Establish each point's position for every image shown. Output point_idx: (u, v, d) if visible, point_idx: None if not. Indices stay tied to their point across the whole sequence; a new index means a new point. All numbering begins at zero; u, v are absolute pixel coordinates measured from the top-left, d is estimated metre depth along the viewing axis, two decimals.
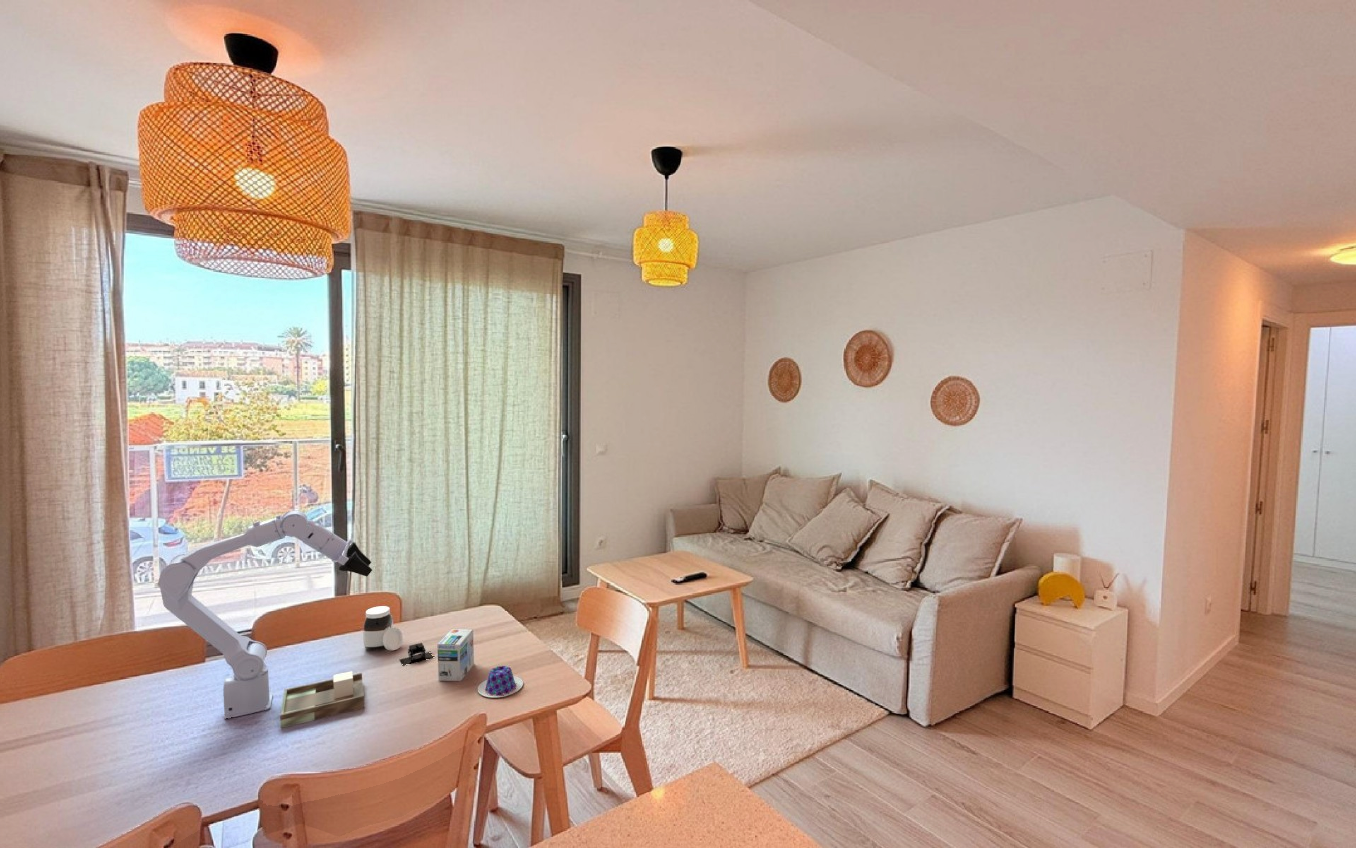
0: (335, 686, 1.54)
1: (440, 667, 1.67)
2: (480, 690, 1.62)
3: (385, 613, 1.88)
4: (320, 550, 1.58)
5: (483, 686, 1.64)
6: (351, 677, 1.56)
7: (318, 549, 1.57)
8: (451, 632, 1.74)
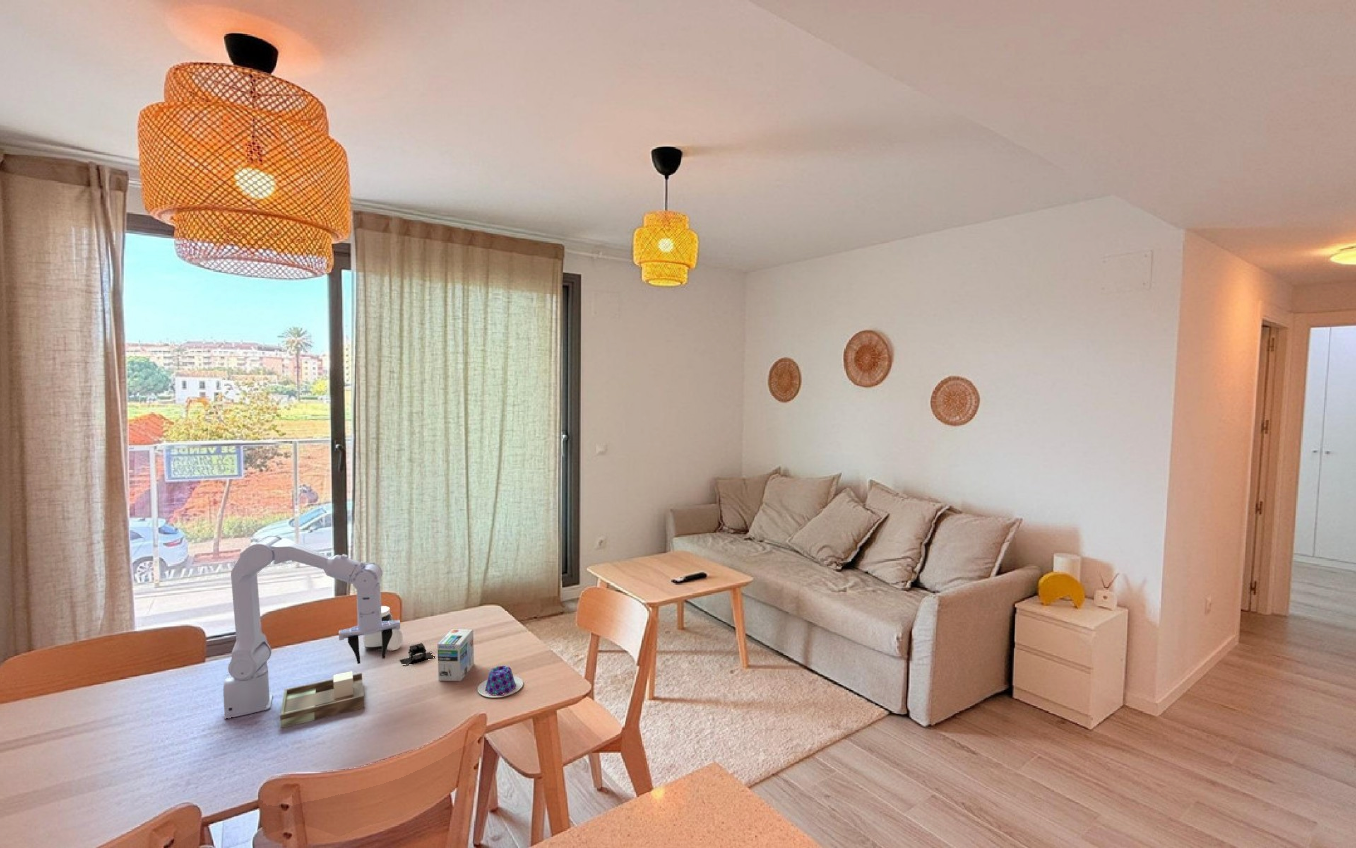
0: (335, 686, 1.54)
1: (440, 667, 1.67)
2: (480, 690, 1.62)
3: (385, 613, 1.88)
4: None
5: (483, 686, 1.64)
6: (351, 677, 1.56)
7: (359, 612, 1.57)
8: (451, 632, 1.74)
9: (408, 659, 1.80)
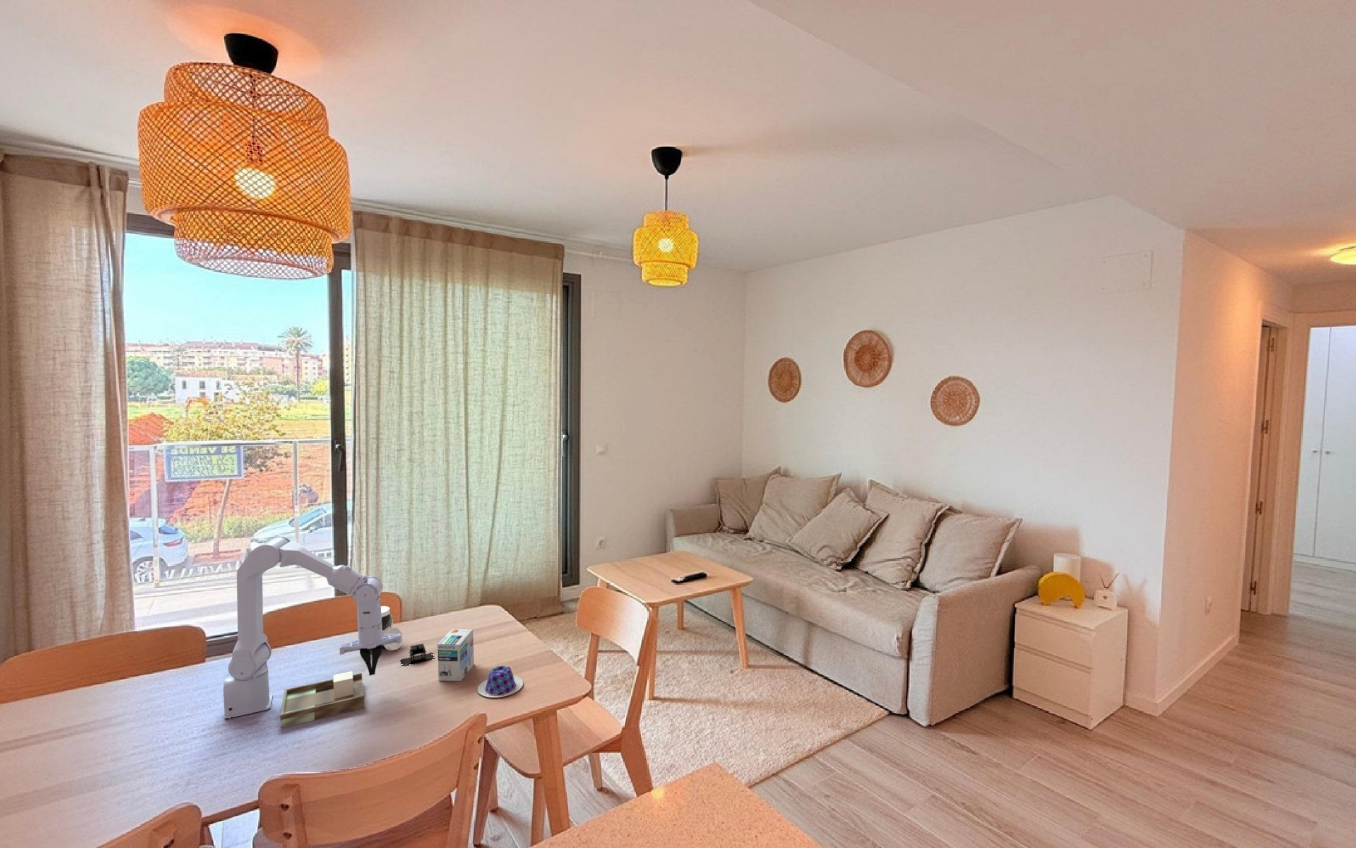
0: (335, 686, 1.54)
1: (440, 667, 1.67)
2: (480, 691, 1.61)
3: (385, 613, 1.88)
4: None
5: (482, 687, 1.64)
6: (351, 677, 1.56)
7: (359, 626, 1.57)
8: (451, 632, 1.74)
9: (408, 659, 1.80)
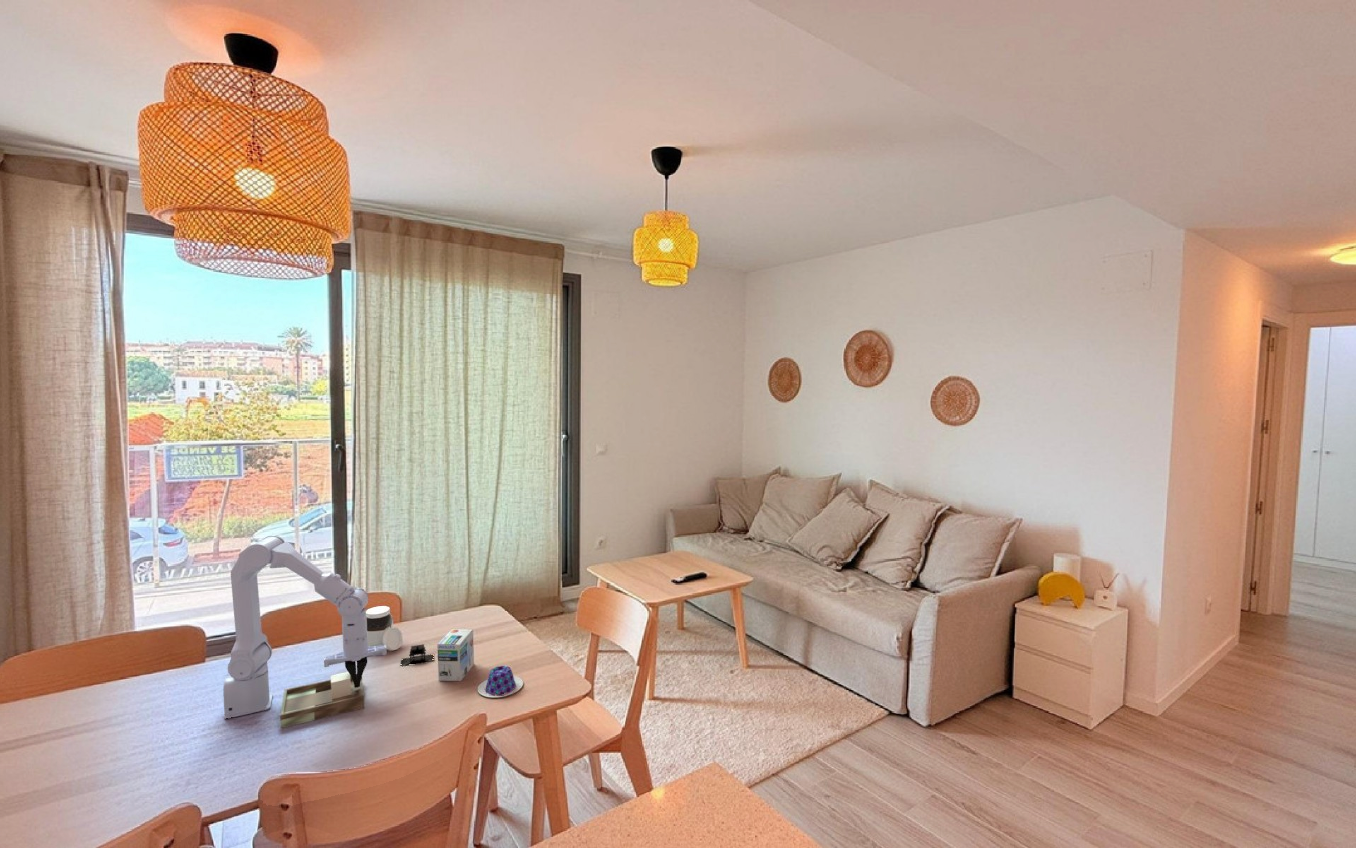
0: (332, 687, 1.54)
1: (440, 667, 1.67)
2: (481, 691, 1.61)
3: (385, 613, 1.88)
4: None
5: (482, 687, 1.63)
6: (348, 677, 1.56)
7: (344, 639, 1.55)
8: (451, 632, 1.74)
9: (409, 659, 1.80)
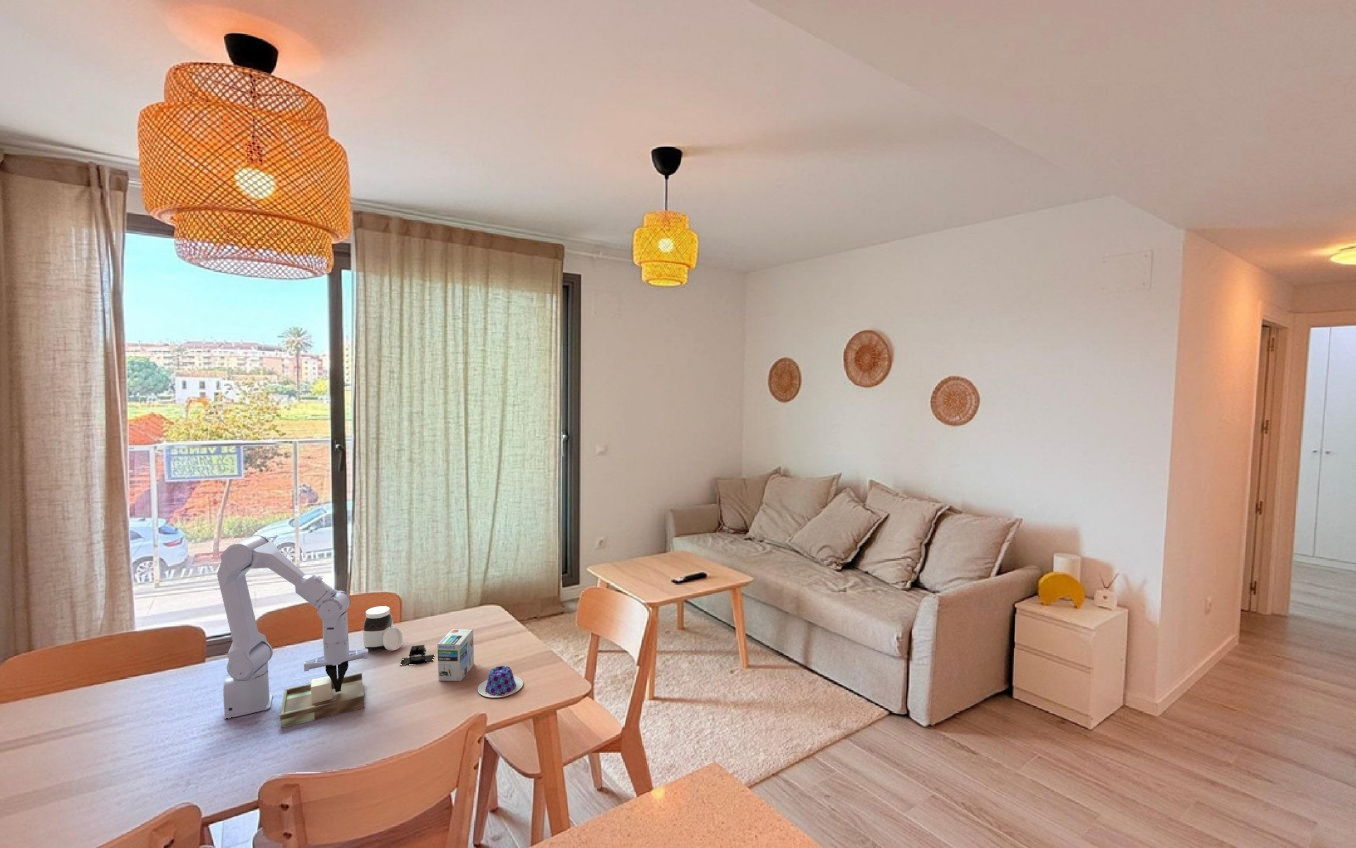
0: (312, 691, 1.52)
1: (440, 667, 1.67)
2: (481, 692, 1.61)
3: (385, 613, 1.88)
4: None
5: (482, 688, 1.63)
6: (329, 682, 1.54)
7: (324, 642, 1.53)
8: (451, 632, 1.74)
9: (409, 659, 1.80)
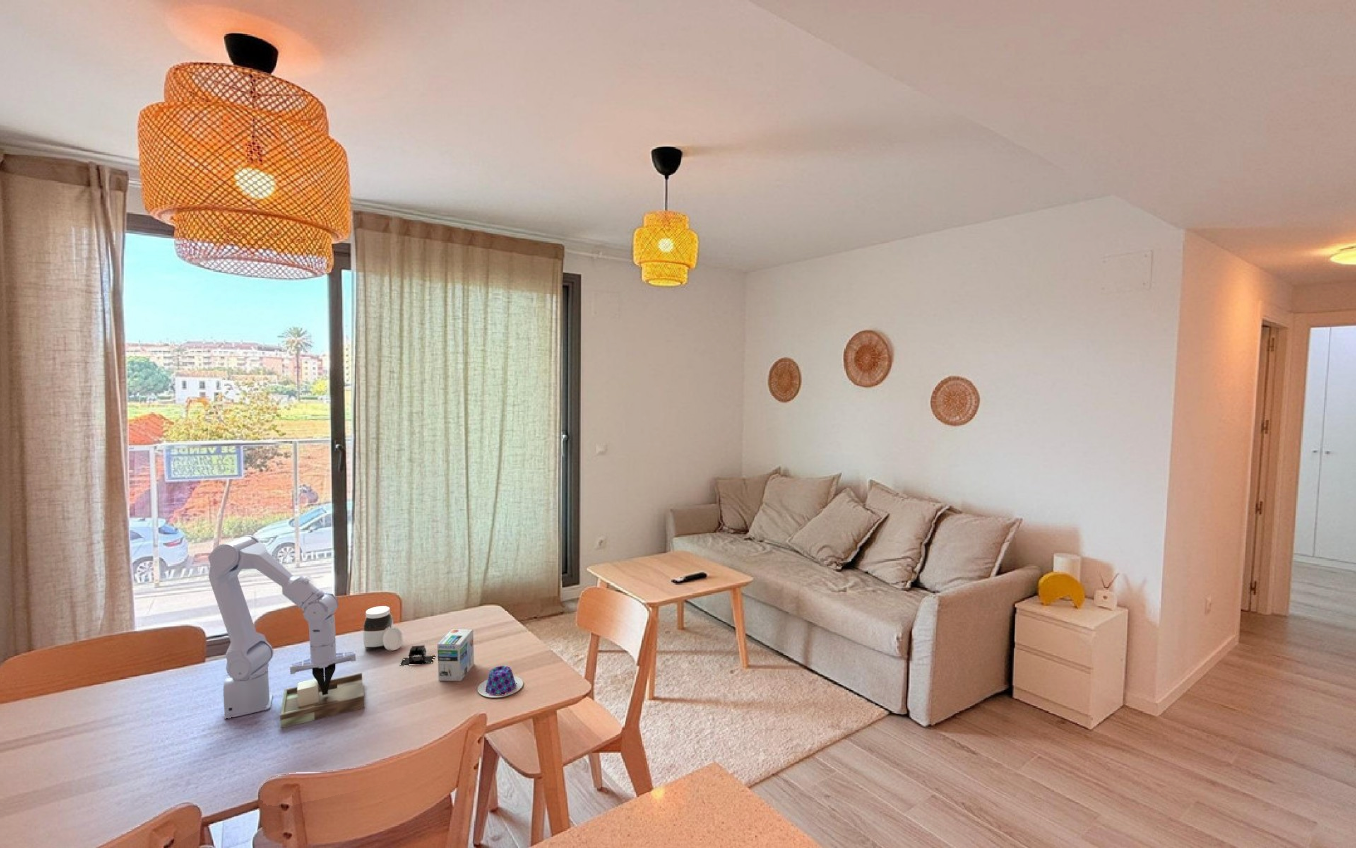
0: (299, 694, 1.50)
1: (440, 667, 1.67)
2: (481, 692, 1.61)
3: (385, 613, 1.88)
4: None
5: (482, 688, 1.63)
6: (316, 685, 1.53)
7: (310, 644, 1.52)
8: (451, 632, 1.74)
9: None
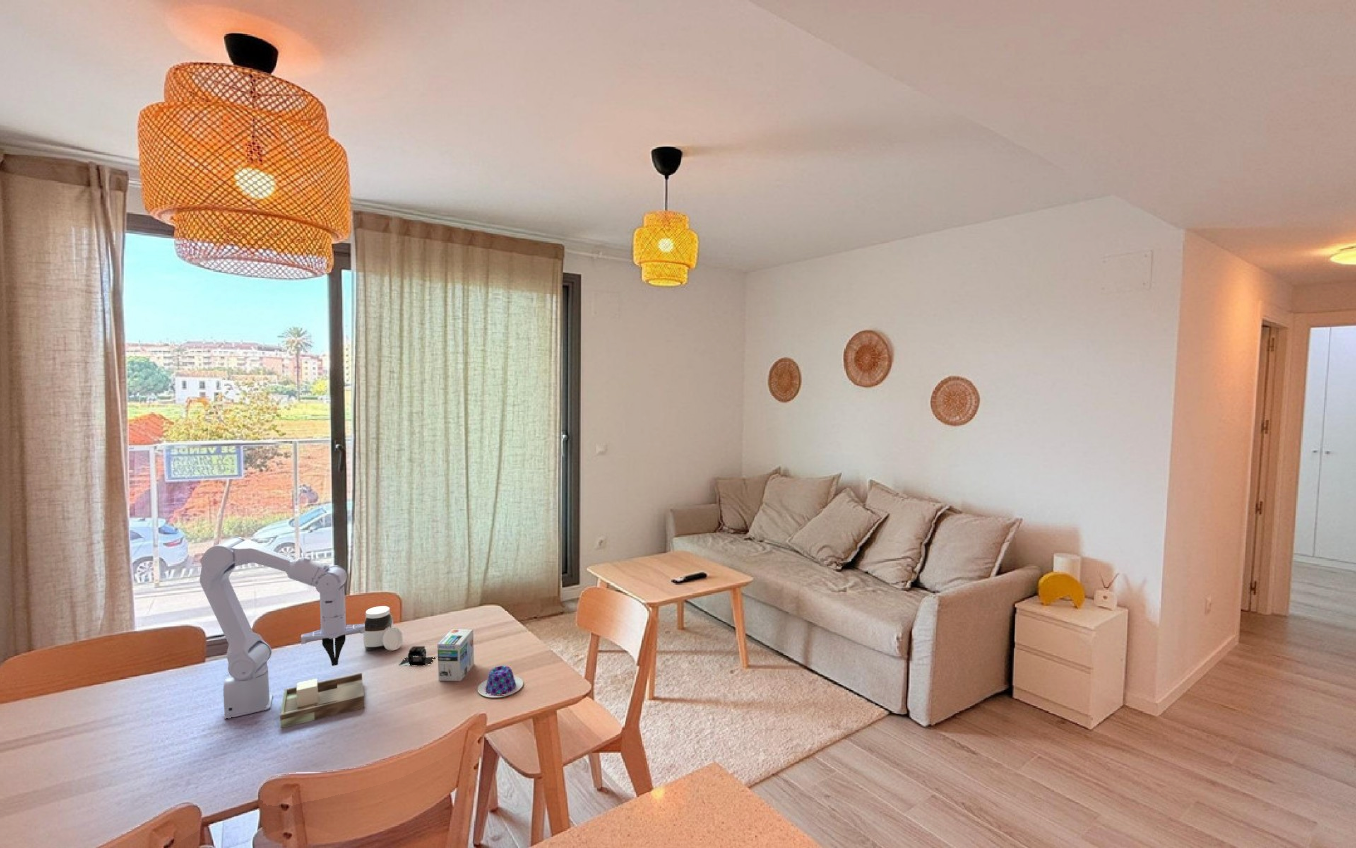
0: (298, 695, 1.50)
1: (440, 667, 1.67)
2: (481, 693, 1.61)
3: (385, 613, 1.88)
4: None
5: (482, 689, 1.63)
6: (315, 685, 1.52)
7: (321, 616, 1.54)
8: (451, 632, 1.74)
9: None
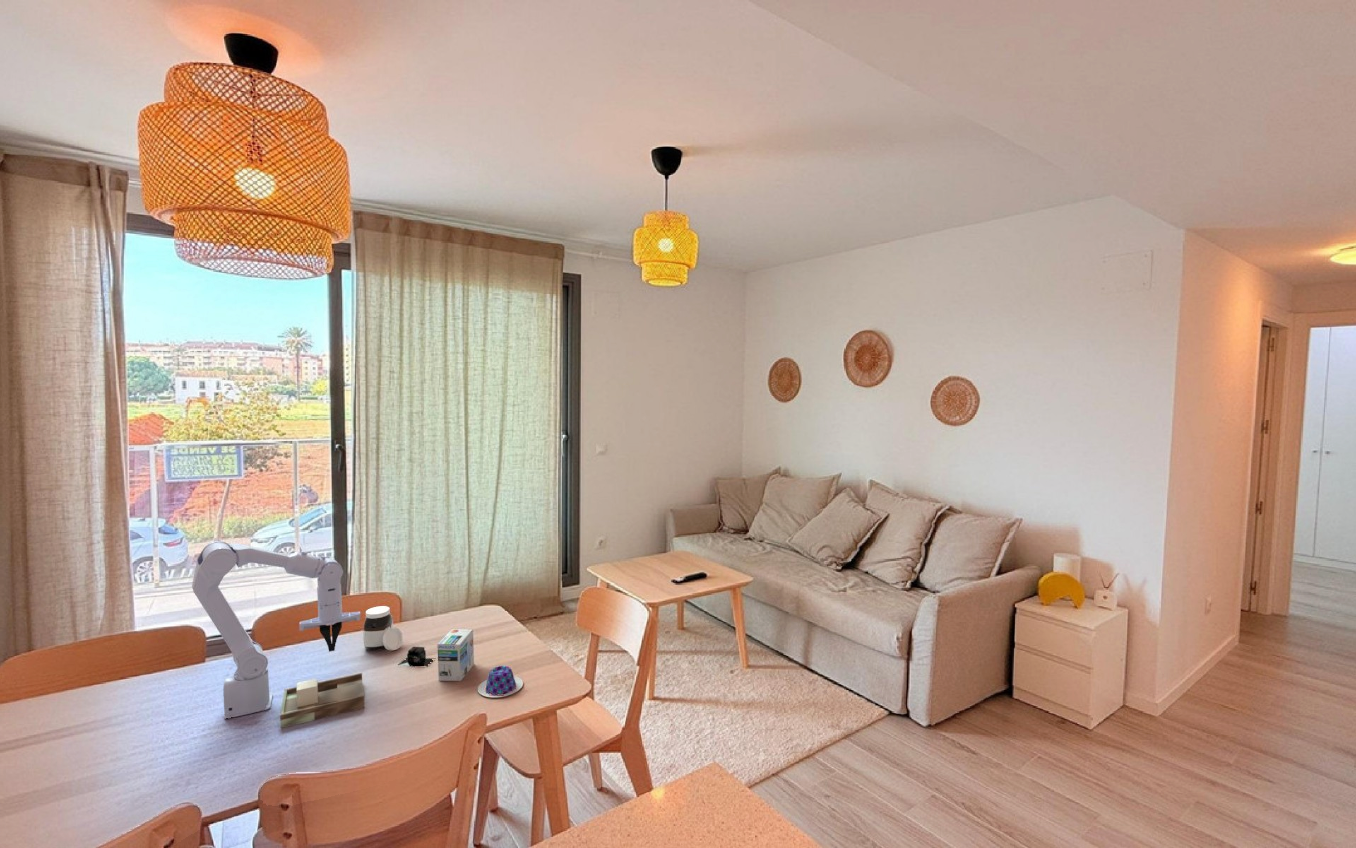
0: (298, 695, 1.50)
1: (440, 667, 1.67)
2: (482, 693, 1.60)
3: (385, 613, 1.88)
4: None
5: (482, 689, 1.63)
6: (315, 685, 1.52)
7: (323, 604, 1.62)
8: (451, 632, 1.74)
9: None
